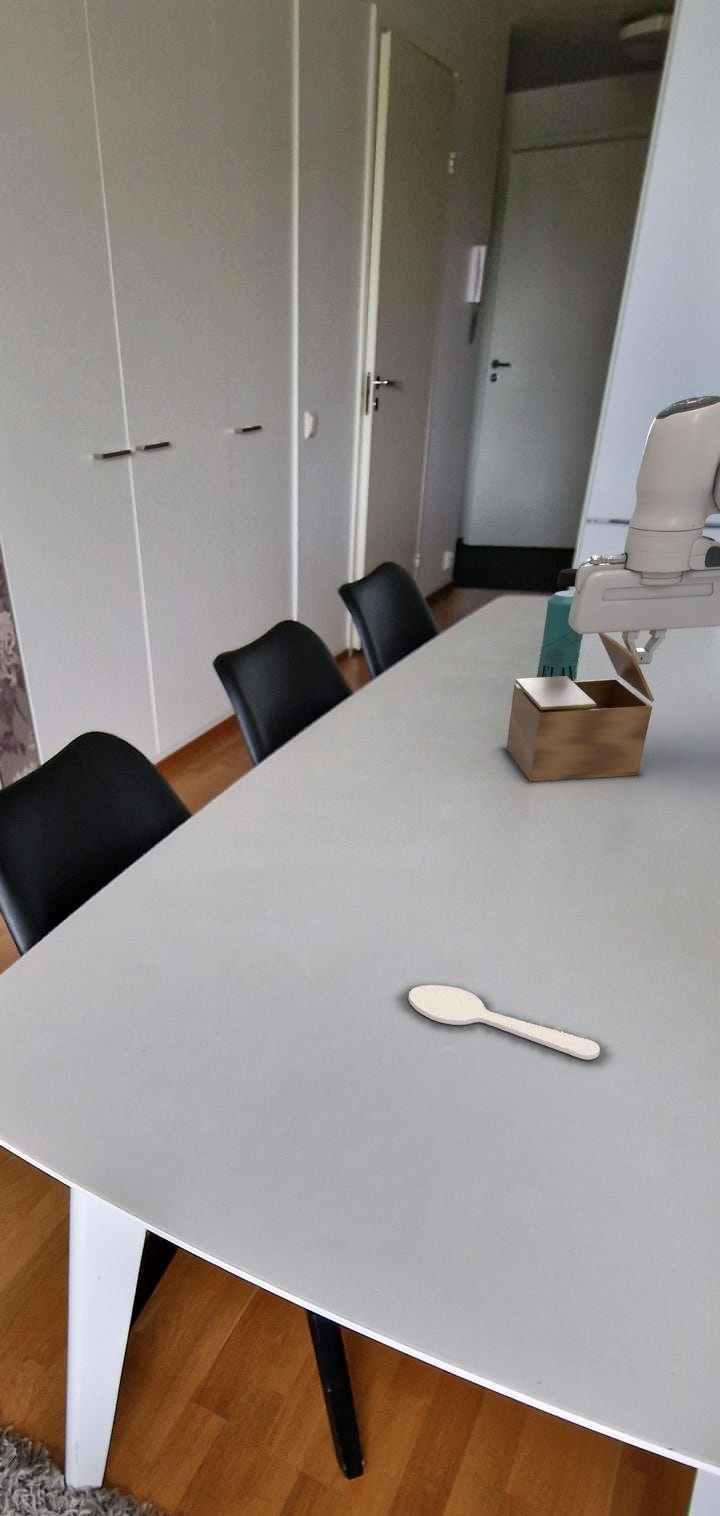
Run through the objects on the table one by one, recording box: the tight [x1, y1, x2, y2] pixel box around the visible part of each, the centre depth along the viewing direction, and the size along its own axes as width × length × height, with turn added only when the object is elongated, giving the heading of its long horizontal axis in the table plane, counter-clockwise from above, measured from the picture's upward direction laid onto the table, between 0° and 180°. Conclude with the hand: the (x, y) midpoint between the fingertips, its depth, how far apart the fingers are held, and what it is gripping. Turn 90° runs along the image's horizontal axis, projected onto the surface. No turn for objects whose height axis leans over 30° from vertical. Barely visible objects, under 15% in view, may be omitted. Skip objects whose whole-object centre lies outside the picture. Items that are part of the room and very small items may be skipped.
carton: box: [505, 676, 653, 782], centre depth 131 cm, size 15×13×10 cm
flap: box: [597, 633, 655, 703], centre depth 126 cm, size 7×13×1 cm
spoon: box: [408, 984, 601, 1061], centre depth 84 cm, size 5×18×1 cm, turn 54°
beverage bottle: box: [535, 568, 585, 681], centre depth 150 cm, size 6×7×20 cm
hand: (637, 663), depth 126 cm, fingers closed
